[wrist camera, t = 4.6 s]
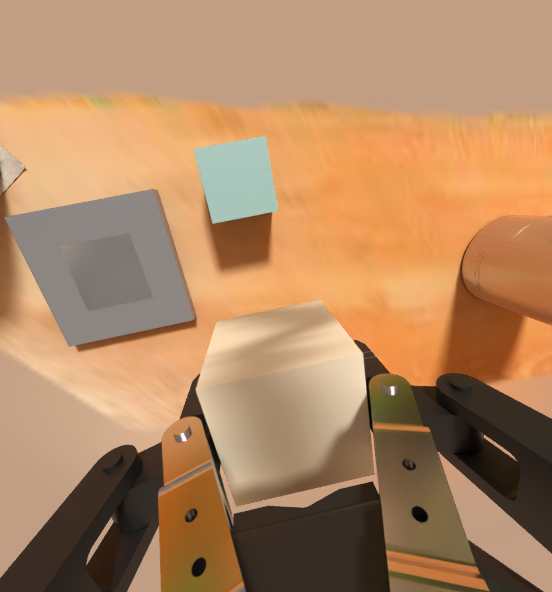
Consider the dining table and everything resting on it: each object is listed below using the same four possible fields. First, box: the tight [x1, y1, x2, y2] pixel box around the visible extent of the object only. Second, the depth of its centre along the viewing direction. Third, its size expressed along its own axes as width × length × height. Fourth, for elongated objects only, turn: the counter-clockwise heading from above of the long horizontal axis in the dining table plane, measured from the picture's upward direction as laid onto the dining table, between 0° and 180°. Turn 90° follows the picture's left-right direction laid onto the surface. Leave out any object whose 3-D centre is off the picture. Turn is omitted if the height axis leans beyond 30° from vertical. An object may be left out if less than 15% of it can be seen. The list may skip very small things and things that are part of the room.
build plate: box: [4, 189, 196, 347], centre depth 24 cm, size 12×12×1 cm
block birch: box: [196, 300, 374, 506], centre depth 11 cm, size 5×5×5 cm
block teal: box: [194, 136, 278, 224], centre depth 21 cm, size 5×5×5 cm
